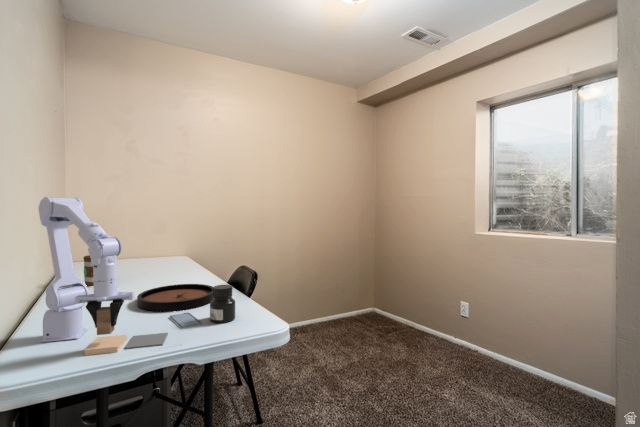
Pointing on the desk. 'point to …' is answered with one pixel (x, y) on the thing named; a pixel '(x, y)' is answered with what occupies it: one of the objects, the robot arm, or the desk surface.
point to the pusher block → (104, 321)
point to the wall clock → (175, 298)
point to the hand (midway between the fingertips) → (105, 325)
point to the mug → (88, 271)
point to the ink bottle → (222, 304)
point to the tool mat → (146, 340)
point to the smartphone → (185, 320)
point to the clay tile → (106, 345)
